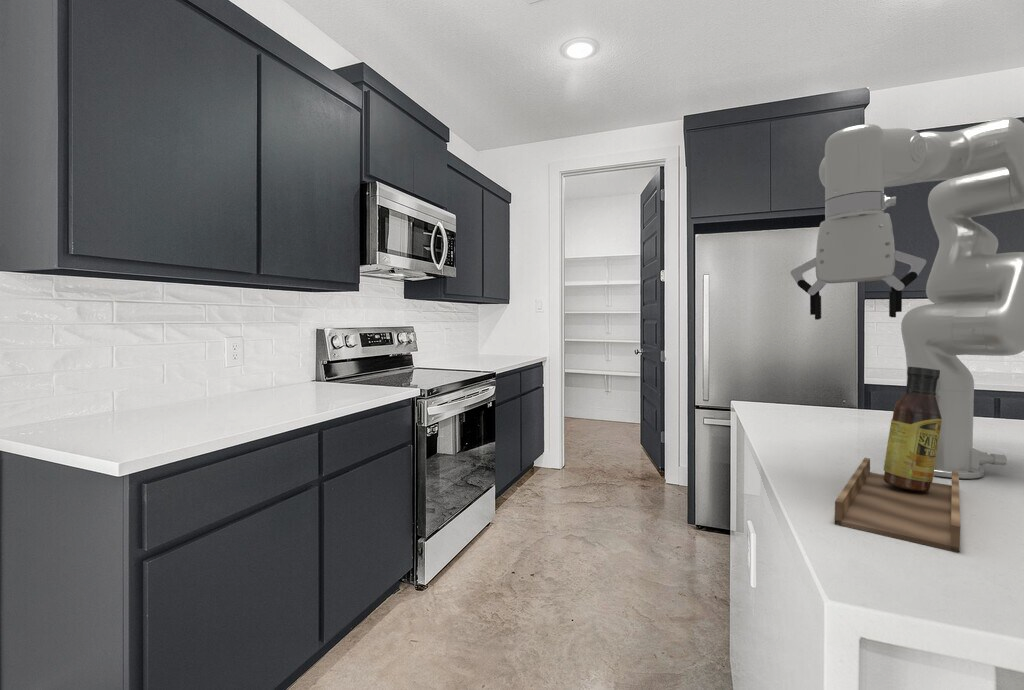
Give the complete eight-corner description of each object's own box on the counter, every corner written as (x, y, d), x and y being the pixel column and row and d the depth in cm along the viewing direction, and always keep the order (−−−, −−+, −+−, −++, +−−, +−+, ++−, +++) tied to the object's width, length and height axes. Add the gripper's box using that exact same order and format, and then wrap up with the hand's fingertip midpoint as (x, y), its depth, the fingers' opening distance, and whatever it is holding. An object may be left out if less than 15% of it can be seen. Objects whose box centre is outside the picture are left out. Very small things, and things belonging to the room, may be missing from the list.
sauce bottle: (919, 494, 74) (937, 368, 73) (874, 481, 79) (890, 364, 78) (939, 492, 77) (956, 371, 76) (894, 479, 82) (910, 366, 81)
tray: (864, 474, 87) (864, 457, 87) (958, 490, 79) (958, 471, 79) (834, 523, 66) (834, 501, 65) (959, 552, 57) (960, 526, 57)
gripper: (923, 204, 72) (923, 316, 73) (793, 222, 83) (793, 319, 83) (929, 194, 66) (928, 316, 67) (787, 215, 77) (788, 320, 77)
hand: (853, 318), depth 75 cm, fingers open, 9 cm apart
